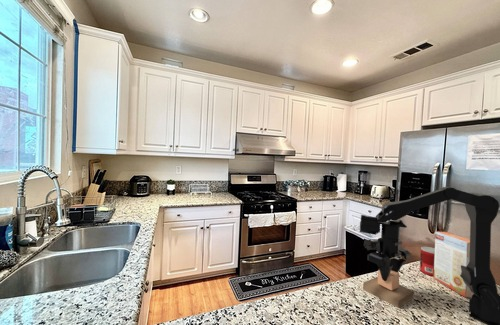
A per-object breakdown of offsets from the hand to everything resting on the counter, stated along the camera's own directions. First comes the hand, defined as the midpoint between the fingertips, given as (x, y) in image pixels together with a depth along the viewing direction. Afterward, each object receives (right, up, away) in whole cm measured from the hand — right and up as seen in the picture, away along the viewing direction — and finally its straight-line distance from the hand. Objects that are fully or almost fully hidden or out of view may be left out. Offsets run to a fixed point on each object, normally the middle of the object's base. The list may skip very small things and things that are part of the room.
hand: (388, 278), depth 79 cm
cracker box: (+32, -8, +7) cm, 33 cm away
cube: (0, -2, 0) cm, 2 cm away
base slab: (0, -6, 0) cm, 6 cm away
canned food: (+32, -8, +18) cm, 37 cm away
